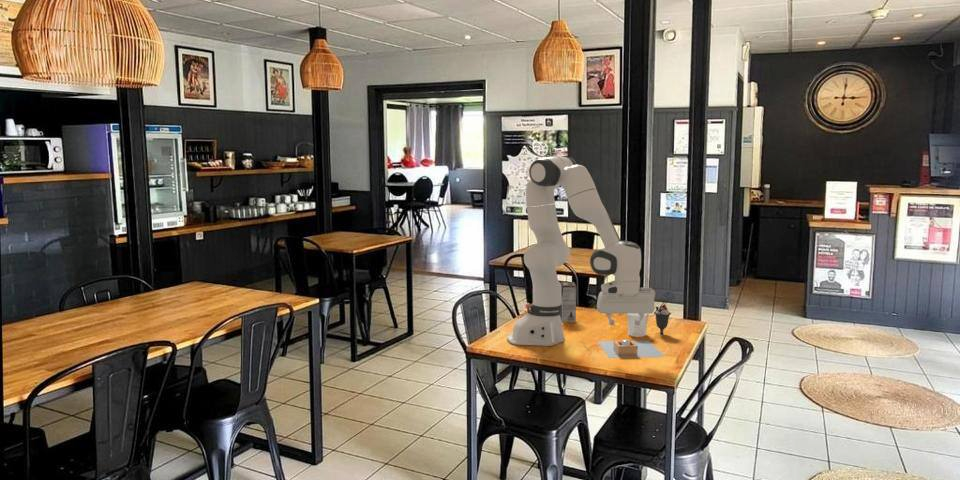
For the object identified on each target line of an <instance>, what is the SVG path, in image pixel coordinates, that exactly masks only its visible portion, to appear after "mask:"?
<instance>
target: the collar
mask: <svg viewBox="0 0 960 480" xmlns="http://www.w3.org/2000/svg"><path fill="white" fill-rule="evenodd" d="M613 341H614V351H615V353H616V354H617V355H618V356H637V351H638V346H637V345H636V344H635V343H634V342H633V341H634V340H630V345H624V346H621V340H613Z"/></svg>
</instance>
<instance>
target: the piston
mask: <svg viewBox="0 0 960 480" xmlns="http://www.w3.org/2000/svg"><path fill="white" fill-rule="evenodd" d="M620 341H621V346H624V345H630V341H631V340H629V339H621V340H620Z"/></svg>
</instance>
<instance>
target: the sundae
mask: <svg viewBox="0 0 960 480" xmlns="http://www.w3.org/2000/svg"><path fill="white" fill-rule="evenodd" d="M668 303H669V301H666V302H665V303H664V304H662V305H660V306H656V307H655V310H654V312H653V314H654V315H655V321H656V327H657V328H658V329H659V330H660V331H659V335H660V336H661V335H664V330H665V329H666V328H668V325H669V324H668V323H669V318H670V316H671V314H672V312H670V310H668V307H667V306H666V304H668Z"/></svg>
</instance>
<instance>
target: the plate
mask: <svg viewBox="0 0 960 480" xmlns="http://www.w3.org/2000/svg"><path fill="white" fill-rule="evenodd" d="M614 341H615V340H612V341H611V340H610V341H609V340H608V341H606V340H604V341H602V340H601V341H598V340H597V341H596V343H597V344H598V345H599V346H600V347H601V349H602V350H603V351H604V353H605V354H606V355H607V357H608V358H610V359H612V358H613V359H614V358H615V359H616V358H618V359H619V358H620V359H621V358H666V355H664V354H663V353H662V351H660V350H659V349H658V348H657V347H656V346H655V345H654V343H652V342H651V341H650V340H632V341H633V342H634V343H635V344H636V345H637V346H638V351H637V356H618V355H617V354H616V353H615V351H614Z"/></svg>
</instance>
